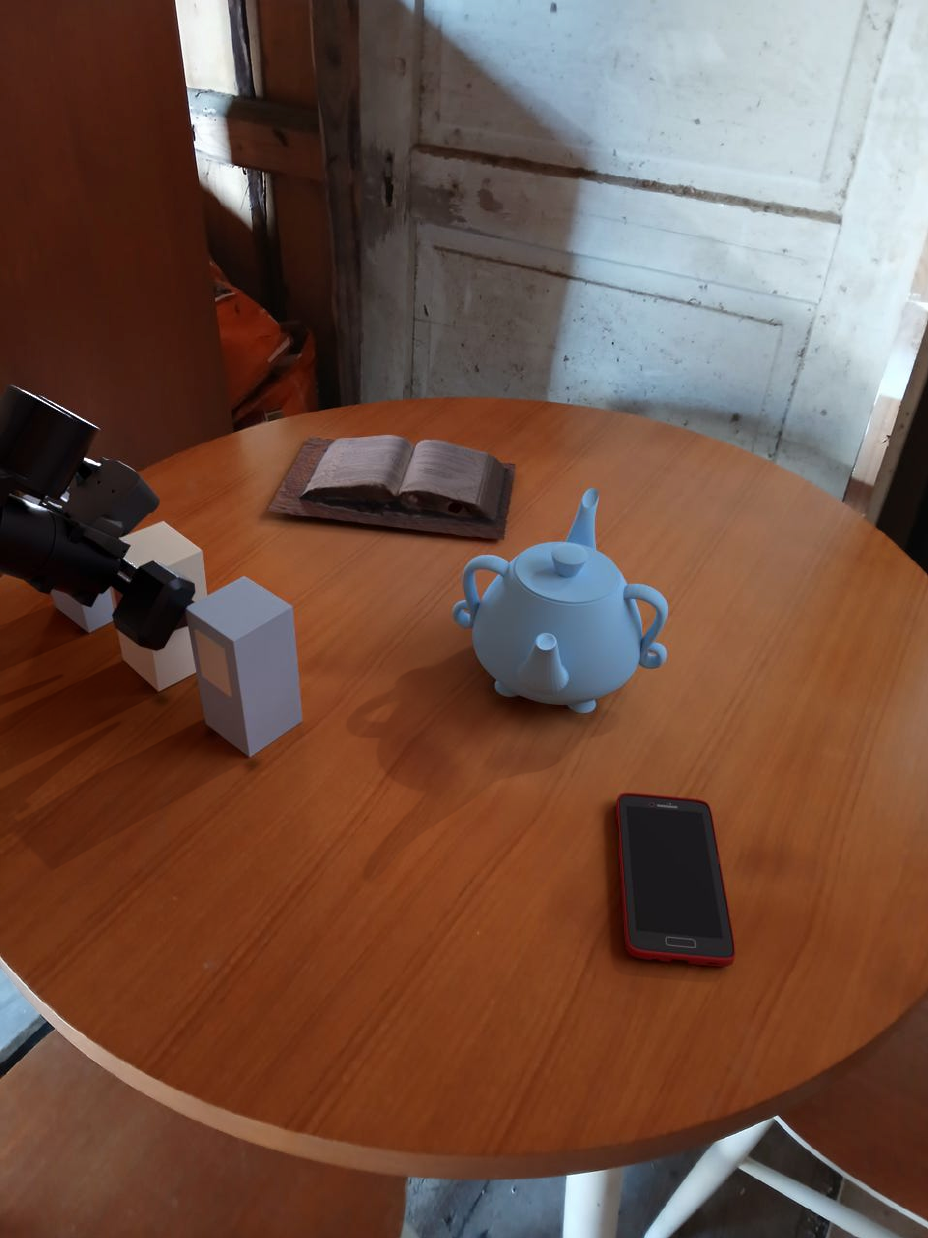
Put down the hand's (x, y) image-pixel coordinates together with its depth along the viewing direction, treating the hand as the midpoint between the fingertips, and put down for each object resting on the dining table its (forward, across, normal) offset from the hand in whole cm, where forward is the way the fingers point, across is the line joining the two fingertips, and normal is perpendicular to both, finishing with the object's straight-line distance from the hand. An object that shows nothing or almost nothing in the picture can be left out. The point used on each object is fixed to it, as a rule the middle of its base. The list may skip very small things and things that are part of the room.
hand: (173, 594), depth 82 cm
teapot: (+21, -28, -10) cm, 36 cm away
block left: (+4, +12, +6) cm, 14 cm away
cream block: (+4, 0, +6) cm, 7 cm away
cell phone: (+12, -48, -1) cm, 49 cm away
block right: (+4, -12, +6) cm, 14 cm away
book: (+31, +6, -21) cm, 38 cm away
